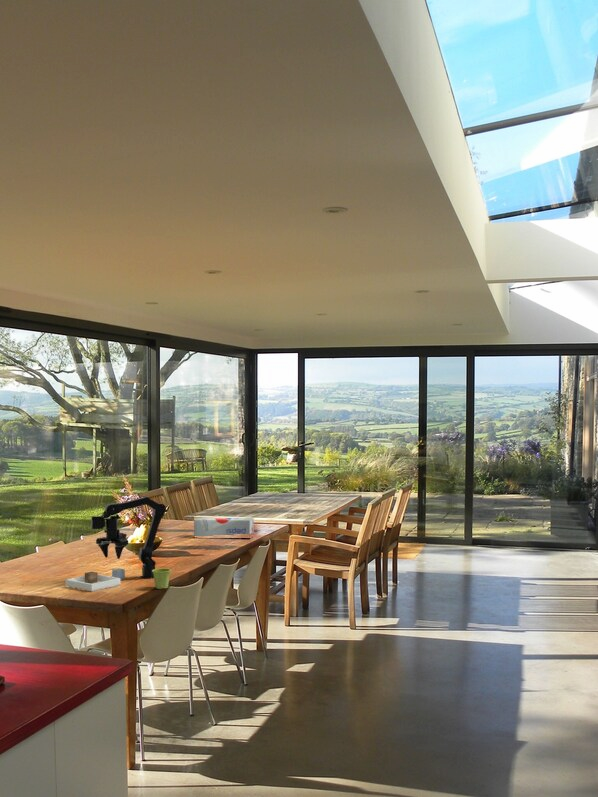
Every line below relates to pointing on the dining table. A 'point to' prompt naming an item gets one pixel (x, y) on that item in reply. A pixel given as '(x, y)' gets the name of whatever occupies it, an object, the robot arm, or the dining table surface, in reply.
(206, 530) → the soda pack
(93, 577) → the walnut block
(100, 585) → the grey tray
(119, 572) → the slate block
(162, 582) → the plant pot
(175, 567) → the dining table surface
